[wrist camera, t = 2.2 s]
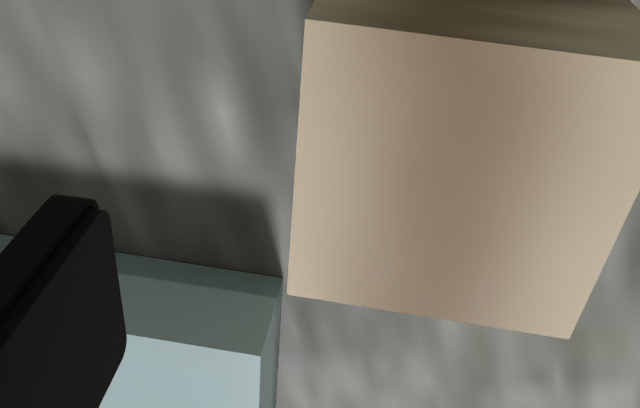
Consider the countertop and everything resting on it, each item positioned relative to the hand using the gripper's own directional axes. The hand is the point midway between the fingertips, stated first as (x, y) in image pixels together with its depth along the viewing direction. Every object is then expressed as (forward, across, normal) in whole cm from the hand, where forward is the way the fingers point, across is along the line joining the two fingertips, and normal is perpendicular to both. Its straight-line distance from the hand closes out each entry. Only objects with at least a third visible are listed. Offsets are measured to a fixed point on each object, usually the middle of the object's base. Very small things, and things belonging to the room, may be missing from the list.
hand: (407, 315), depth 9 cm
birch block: (+9, -1, -1) cm, 9 cm away
